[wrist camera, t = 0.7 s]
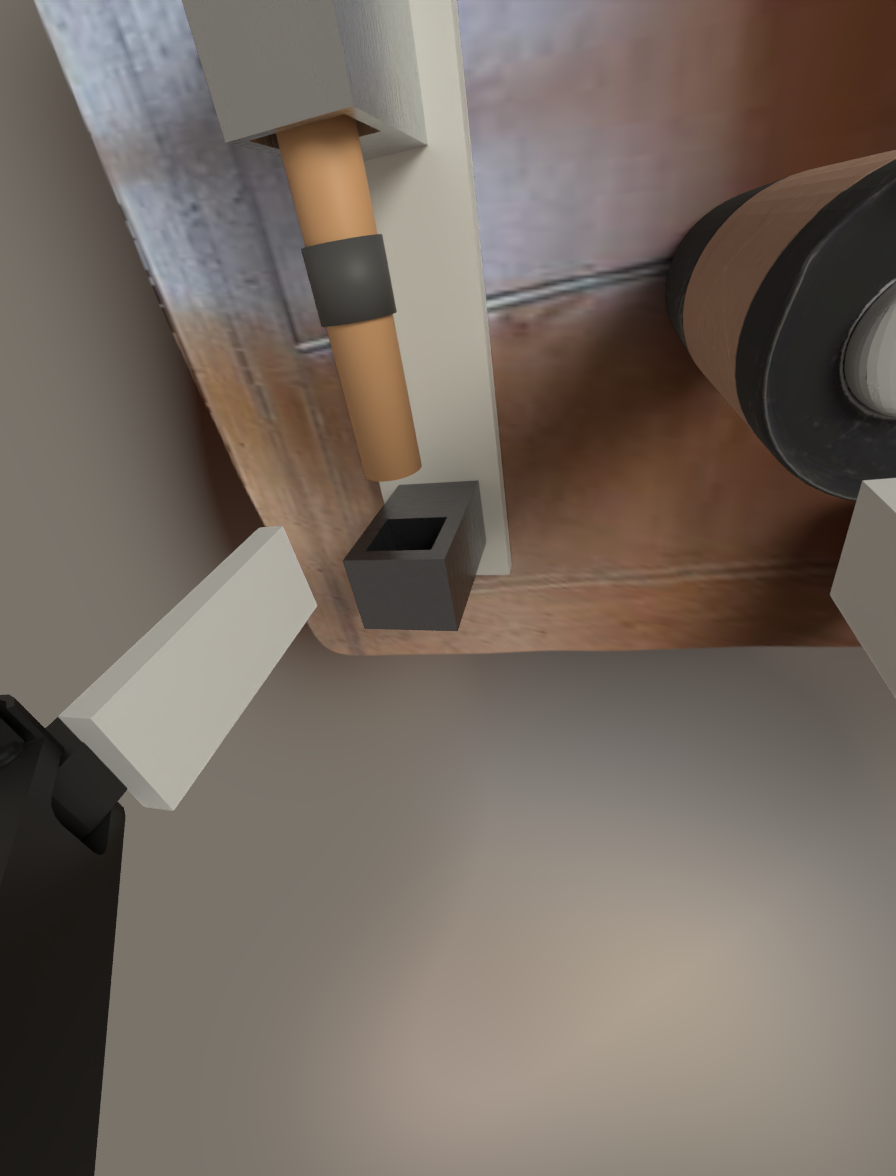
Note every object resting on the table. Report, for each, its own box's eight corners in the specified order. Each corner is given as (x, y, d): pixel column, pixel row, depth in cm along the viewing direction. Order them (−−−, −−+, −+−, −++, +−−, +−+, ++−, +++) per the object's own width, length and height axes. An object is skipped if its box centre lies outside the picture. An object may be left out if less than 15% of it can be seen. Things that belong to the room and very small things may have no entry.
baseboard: (240, -139, 22) (221, -159, 21) (434, -229, 19) (425, -259, 18) (407, 565, 42) (401, 575, 41) (511, 564, 40) (509, 575, 39)
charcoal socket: (398, 484, 36) (343, 560, 28) (478, 480, 35) (444, 559, 26) (411, 543, 39) (364, 628, 31) (486, 542, 37) (457, 631, 29)
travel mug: (795, 351, 28) (1069, 515, 12) (649, 357, 29) (720, 507, 14) (847, 174, 23) (1392, 61, 7) (672, 193, 25) (816, 135, 9)
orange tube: (225, -150, 17) (153, -225, 14) (317, -194, 16) (259, -283, 13) (374, 460, 29) (351, 485, 26) (432, 456, 28) (415, 481, 25)
